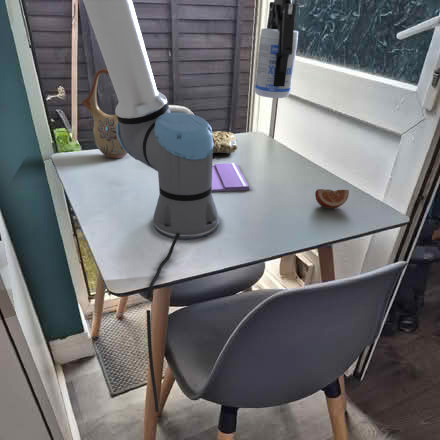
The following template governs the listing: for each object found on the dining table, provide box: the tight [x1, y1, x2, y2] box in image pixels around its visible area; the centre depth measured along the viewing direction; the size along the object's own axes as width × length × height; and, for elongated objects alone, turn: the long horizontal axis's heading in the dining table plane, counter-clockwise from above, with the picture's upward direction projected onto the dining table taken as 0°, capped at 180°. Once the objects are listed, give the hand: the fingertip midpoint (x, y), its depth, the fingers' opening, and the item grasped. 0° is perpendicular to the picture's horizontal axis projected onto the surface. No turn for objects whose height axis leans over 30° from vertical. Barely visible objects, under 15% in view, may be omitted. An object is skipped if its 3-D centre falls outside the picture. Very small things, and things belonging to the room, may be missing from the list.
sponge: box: [212, 130, 238, 154], centre depth 128 cm, size 13×8×20 cm
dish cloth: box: [212, 162, 250, 193], centre depth 114 cm, size 18×13×1 cm
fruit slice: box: [314, 188, 350, 209], centre depth 100 cm, size 8×7×5 cm
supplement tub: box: [254, 28, 299, 99], centre depth 101 cm, size 10×10×15 cm
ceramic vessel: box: [80, 68, 128, 159], centre depth 118 cm, size 16×9×25 cm, turn 90°
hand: (273, 82), depth 103 cm, fingers closed on supplement tub, 10 cm apart
